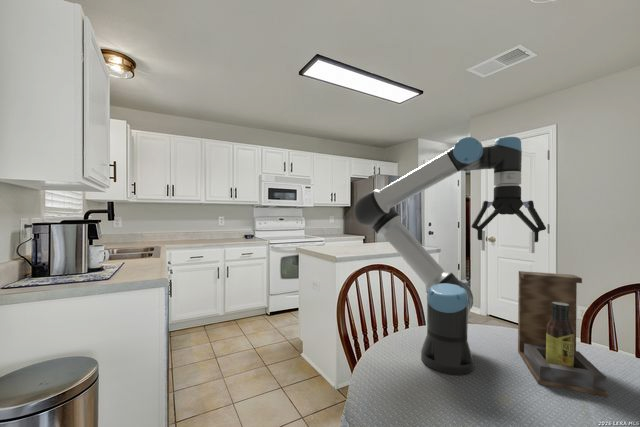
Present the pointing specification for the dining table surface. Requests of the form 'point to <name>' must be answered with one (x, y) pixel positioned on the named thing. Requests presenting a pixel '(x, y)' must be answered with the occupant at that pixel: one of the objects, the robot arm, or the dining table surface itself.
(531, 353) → the stand
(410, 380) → the dining table surface
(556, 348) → the sauce bottle
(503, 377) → the dining table surface
